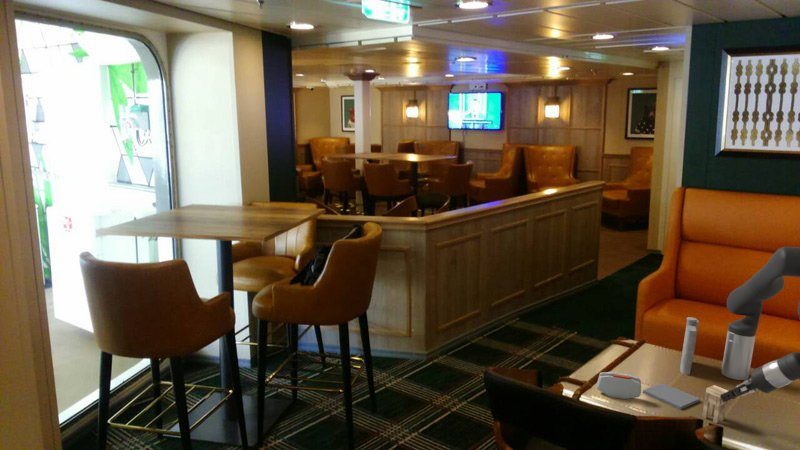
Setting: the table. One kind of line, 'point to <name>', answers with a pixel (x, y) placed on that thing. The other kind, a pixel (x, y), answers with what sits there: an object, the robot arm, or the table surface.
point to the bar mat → (671, 396)
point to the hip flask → (689, 345)
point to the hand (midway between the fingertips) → (729, 395)
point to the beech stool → (714, 403)
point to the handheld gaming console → (619, 385)
